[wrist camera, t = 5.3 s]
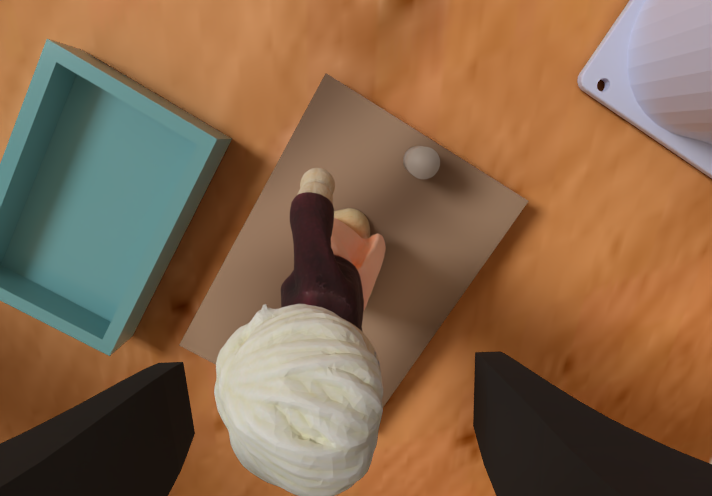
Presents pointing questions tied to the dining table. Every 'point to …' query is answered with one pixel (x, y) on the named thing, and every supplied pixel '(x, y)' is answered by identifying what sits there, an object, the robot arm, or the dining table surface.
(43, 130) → the tray
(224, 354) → the grandmother figurine
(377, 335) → the board
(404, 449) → the dining table surface
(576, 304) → the dining table surface
